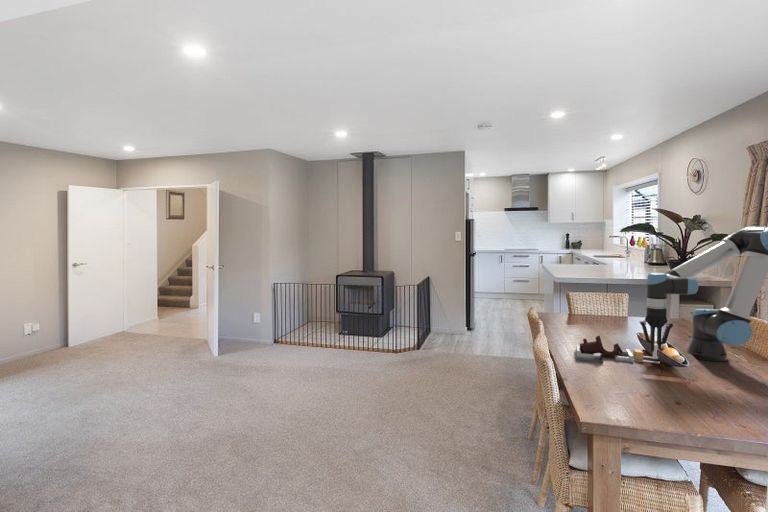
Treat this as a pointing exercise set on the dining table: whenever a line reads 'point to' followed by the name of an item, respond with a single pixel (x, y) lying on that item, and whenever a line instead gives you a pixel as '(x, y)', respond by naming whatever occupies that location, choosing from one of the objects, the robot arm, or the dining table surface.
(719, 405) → the dining table surface
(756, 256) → the robot arm
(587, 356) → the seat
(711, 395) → the dining table surface
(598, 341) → the dark brown irregular piece
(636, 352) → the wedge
